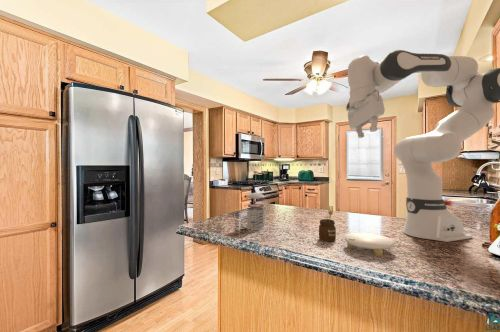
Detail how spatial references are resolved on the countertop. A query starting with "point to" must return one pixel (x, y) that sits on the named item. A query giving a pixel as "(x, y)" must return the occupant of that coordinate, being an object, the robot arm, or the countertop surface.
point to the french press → (256, 212)
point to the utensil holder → (327, 228)
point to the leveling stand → (368, 242)
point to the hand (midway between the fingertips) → (367, 134)
